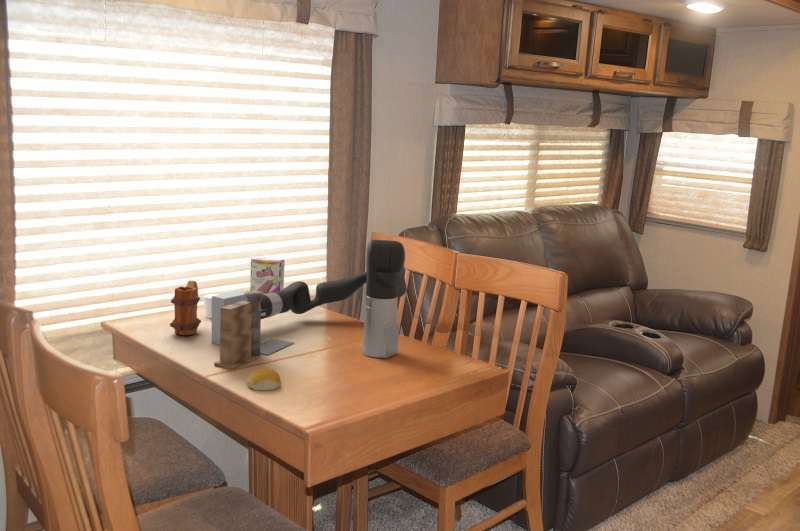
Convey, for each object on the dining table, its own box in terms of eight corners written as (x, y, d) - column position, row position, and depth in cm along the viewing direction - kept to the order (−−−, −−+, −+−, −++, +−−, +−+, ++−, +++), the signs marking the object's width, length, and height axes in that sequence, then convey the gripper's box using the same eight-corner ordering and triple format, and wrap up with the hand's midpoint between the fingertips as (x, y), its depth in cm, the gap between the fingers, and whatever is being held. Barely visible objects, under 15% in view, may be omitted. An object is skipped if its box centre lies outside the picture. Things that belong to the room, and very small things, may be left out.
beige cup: (229, 316, 250) (229, 295, 249) (214, 320, 245) (214, 299, 243) (214, 312, 254) (214, 292, 253) (199, 316, 248) (199, 295, 247)
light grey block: (248, 338, 226) (249, 293, 223) (223, 345, 218) (224, 298, 215) (236, 335, 229) (237, 290, 226) (211, 342, 220) (211, 296, 218)
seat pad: (271, 339, 227) (271, 338, 227) (294, 343, 224) (294, 342, 224) (244, 350, 214) (244, 349, 214) (267, 355, 211) (267, 354, 211)
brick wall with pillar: (249, 350, 215) (250, 289, 211) (267, 354, 212) (268, 292, 209) (214, 365, 200) (214, 300, 197) (232, 369, 198) (233, 303, 194)
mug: (194, 338, 223) (194, 289, 220) (167, 337, 223) (167, 287, 220) (207, 325, 237) (208, 279, 235) (182, 324, 237) (182, 277, 235)
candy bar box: (249, 303, 268) (250, 258, 265) (253, 300, 273) (254, 256, 270) (279, 306, 267) (280, 261, 264) (283, 303, 272) (284, 258, 269)
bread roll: (279, 379, 193) (279, 364, 192) (281, 391, 185) (282, 375, 184) (246, 380, 191) (246, 364, 190) (247, 392, 183) (247, 376, 182)
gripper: (281, 322, 230) (241, 332, 217) (247, 313, 238) (207, 323, 224) (282, 298, 229) (242, 307, 215) (247, 290, 237) (207, 299, 223)
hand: (224, 315), depth 220 cm, fingers open, 6 cm apart
